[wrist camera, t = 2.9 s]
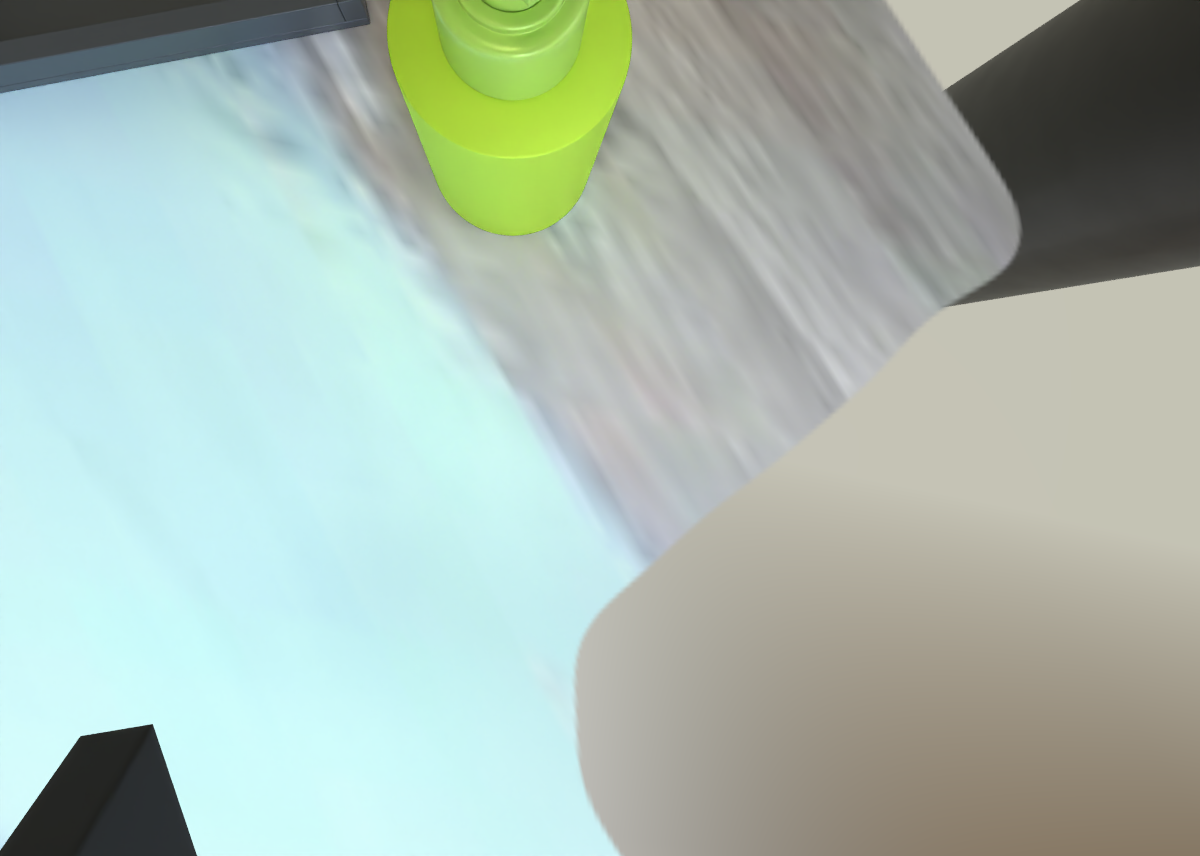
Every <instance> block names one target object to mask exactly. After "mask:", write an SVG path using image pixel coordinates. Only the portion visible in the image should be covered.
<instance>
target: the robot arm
mask: <svg viewBox="0 0 1200 856" xmlns="http://www.w3.org/2000/svg"><path fill="white" fill-rule="evenodd" d="M0 856H197V855H196V852H195V849H194V846H193V843H192V840H191V837H190V834H189V831H188V828H187V825H186V822H185V819H184V816H183V813H182V810H181V807H180V804H179V801H178V798H177V795H176V792H175V789H174V786H173V783H172V780H171V777H170V774H169V771H168V768H167V765H166V762H165V759H164V757H163V754H162V751H161V748H160V745H159V742H158V739H157V736H156V733H155V730H154V727H153V724H151V725H145V726H139V727H133V728H127V729H121V730H115V731H109V732H103V733H97V734H91V735H85V736H80V738H79V739H78V741H77V742H76V743H75V745H74V746H73V748H72V749H71V751H70V752H69V753H68V755H67V756H66V758H65V759H64V761H63V762H62V763H61V765H60V766H59V768H58V769H57V771H56V772H55V773H54V775H53V776H52V778H51V779H50V780H49V782H48V783H47V785H46V786H45V788H44V789H43V790H42V792H41V793H40V795H39V796H38V798H37V799H36V800H35V802H34V803H33V805H32V806H31V808H30V809H29V810H28V812H27V813H26V815H25V816H24V818H23V819H22V820H21V822H20V823H19V825H18V826H17V828H16V829H15V830H14V832H13V833H12V835H11V836H10V837H9V839H8V840H7V842H6V843H5V845H4V846H3V847H2V849H1V850H0Z"/></svg>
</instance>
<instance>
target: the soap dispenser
mask: <svg viewBox="0 0 1200 856" xmlns="http://www.w3.org/2000/svg"><path fill="white" fill-rule="evenodd" d="M387 42H388V50H389V56H390V60H391V64H392V68H393V71H394V74H395V76H396V79H397V82H398V84H399V87H400V89H401V92H402V94H403V97H404V100H405V102H406V105H407V107H408V110H409V112H410V115H411V118H412V120H413V123H414V125H415V128H416V130H417V133H418V135H419V138H420V141H421V143H422V146H423V148H424V151H425V153H426V156H427V159H428V161H429V164H430V166H431V169H432V171H433V174H434V176H435V179H436V182H437V184H438V186H439V189H440V191H441V193H442V194H443V196H444V198H445V199H446V201H447V202H448V203H449V205H450V206H451V207H452V208H453V209H454V210H455V211H456V212H457V213H458V214H459V215H460V216H461V217H462V218H464V219H465V220H466V221H468V222H469V223H471V224H472V225H474V226H476V227H478V228H480V229H482V230H485V231H488V232H491V233H495V234H500V235H510V236H516V235H526V234H531V233H535V232H538V231H541V230H543V229H545V228H547V227H549V226H551V225H553V224H555V223H556V222H558V221H559V220H560V219H561V218H563V217H564V216H565V215H566V214H567V213H568V212H569V211H570V210H571V209H572V208H573V206H574V205H575V204H576V202H577V201H578V199H579V198H580V196H581V194H582V192H583V190H584V188H585V185H586V183H587V180H588V177H589V175H590V172H591V169H592V167H593V164H594V161H595V159H596V156H597V153H598V151H599V148H600V145H601V143H602V140H603V137H604V135H605V132H606V130H607V127H608V124H609V122H610V119H611V116H612V114H613V111H614V108H615V106H616V103H617V100H618V98H619V95H620V92H621V90H622V87H623V84H624V82H625V79H626V76H627V72H628V68H629V64H630V58H631V50H632V27H631V19H630V14H629V9H628V5H627V2H626V0H391V1H390V5H389V10H388V19H387Z"/></svg>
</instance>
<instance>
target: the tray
mask: <svg viewBox="0 0 1200 856" xmlns="http://www.w3.org/2000/svg"><path fill="white" fill-rule="evenodd" d="M366 24H370V19H369V15H368V10H367V6H366V2H365V0H0V93H3V92H8V91H13V90H19V89H24V88H29V87H35V86H40V85H45V84H51V83H56V82H62V81H67V80H72V79H78V78H83V77H88V76H94V75H99V74H104V73H110V72H115V71H120V70H126V69H131V68H136V67H142V66H147V65H152V64H158V63H163V62H168V61H174V60H179V59H184V58H190V57H195V56H201V55H206V54H211V53H217V52H222V51H227V50H233V49H238V48H243V47H249V46H254V45H259V44H265V43H270V42H275V41H281V40H286V39H291V38H297V37H302V36H307V35H313V34H318V33H323V32H329V31H334V30H340V29H345V28H350V27H356V26H361V25H366Z"/></svg>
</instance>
